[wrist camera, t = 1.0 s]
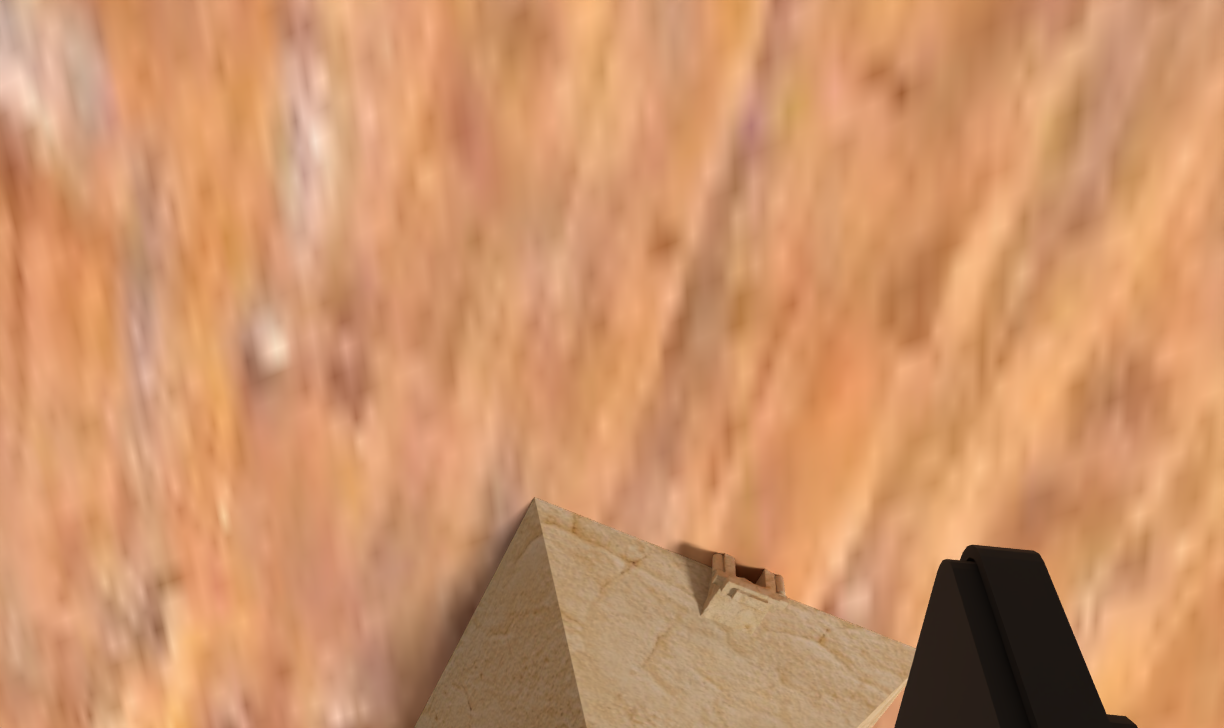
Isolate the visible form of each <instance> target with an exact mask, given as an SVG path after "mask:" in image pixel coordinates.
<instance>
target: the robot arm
mask: <svg viewBox="0 0 1224 728" xmlns="http://www.w3.org/2000/svg"><path fill="white" fill-rule="evenodd" d="M895 728H1138V727H1137V726H1136V724H1134V723H1133V722H1132V721H1131V720H1130V719H1128V718H1127V717H1126V716H1117V715H1107V714H1106V712H1105V709H1104V707H1103V705H1102V702H1101V700H1100V697H1099V695H1098V692H1097V690H1096V688H1095V685H1094V683H1093V680H1092V678H1091V675H1090V673H1089V670H1088V668H1087V666H1086V663H1085V661H1084V658H1083V656H1082V653H1081V651H1080V649H1079V646H1078V644H1077V641H1076V639H1075V636H1074V634H1073V631H1072V629H1071V627H1070V624H1069V622H1068V619H1067V617H1066V614H1065V612H1064V609H1063V607H1062V605H1061V602H1060V600H1059V597H1058V595H1057V592H1056V590H1055V588H1054V585H1053V583H1052V580H1051V578H1050V575H1049V573H1048V570H1047V568H1046V566H1045V563H1044V561H1043V559H1042V558H1041V556H1040V554H1039V553H1037V552H1035V551H1031V550H1021V549H1011V548H1000V547H990V546H980V545H970V546H967V548H966V549H965V550H964V552H963V554H962V556H961V559H960V560H950V559H945V560H943V561H942V563H941V564H940V566H939V569H938V572H937V575H936V578H935V582H934V586H933V589H932V593H931V597H930V600H929V604H928V608H927V611H926V615H925V619H924V622H923V626H922V629H921V633H920V637H919V640H918V644H917V648H916V651H915V655H914V659H913V662H912V666H911V669H910V673H909V677H908V680H907V684H906V688H905V691H904V695H903V699H902V702H901V706H900V710H899V713H898V717H897V720H896V724H895Z"/></svg>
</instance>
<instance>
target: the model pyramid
mask: <svg viewBox="0 0 1224 728" xmlns="http://www.w3.org/2000/svg"><path fill="white" fill-rule="evenodd" d="M915 651H916V648H913V647H911V646H908V645H906V644H903V643H901V642H898V641H896V640H893V639H890V638H888V637H885V636H883V635H880V634H878V633H875V632H873V631H870V630H868V629H865V628H863V627H860V626H858V625H855V624H853V623H850V622H848V621H845V620H843V619H840V618H838V617H835V616H833V615H830V614H828V613H825V612H823V611H820V610H817V609H815V608H812V607H810V606H807V605H805V604H802V603H800V602H797V601H795V600H792V599H790V598H787V596H786V595H785V588H784V580H783V577H782V576H780V575H776V576H775V574H774V573H772V572H770V571H768V570H766V569H764V571H763V573H762V574H761V576H760V577H759V579H758V580H757V582H756V583H755V584H753V583H752V582H750V581H748V580H747V579H745V578H740V577H737V576H736V570H735V558H733V557H732V556H730V555H728V554H724V555H723V556H722V554H719V553H716V554H714V555H713V557H712V567H709V566H707V565H704V564H702V563H699V562H697V561H694V560H692V559H689V558H687V557H684V556H682V555H679V554H676V553H674V552H671V551H669V550H666V549H664V548H661V547H659V546H656V545H654V544H651V543H649V542H646V541H644V540H641V539H639V538H636V537H634V536H631V535H629V534H626V533H624V532H621V531H619V530H616V529H614V528H611V527H608V526H606V525H603V524H601V523H598V522H596V521H593V520H591V519H588V518H586V517H583V516H581V515H578V514H576V513H573V512H571V511H568V510H566V509H563V508H561V507H558V506H556V505H553V504H551V503H548V502H546V501H543V500H541V499H538V498H535V497H534V499H533V501H532V503H531V505H530V507H529V509H528V510H527V512H526V514H525V516H524V518H523V520H522V522H521V524H520V526H519V528H518V530H517V532H516V533H515V535H514V537H513V539H512V541H511V543H510V545H509V547H508V549H507V551H506V553H505V555H504V556H503V558H502V560H501V562H500V564H499V566H498V568H497V570H496V572H495V574H494V576H493V578H492V579H491V581H490V583H489V585H488V587H487V589H486V591H485V593H484V595H483V597H482V599H481V601H480V602H479V604H478V606H477V608H476V610H475V612H474V614H473V616H472V618H471V620H470V622H469V624H468V625H467V627H466V629H465V631H464V633H463V635H462V637H461V639H460V641H459V643H458V645H457V647H456V648H455V650H454V652H453V654H452V656H451V658H450V660H449V662H448V664H447V666H446V668H445V670H444V671H443V673H442V675H441V677H440V679H439V681H438V683H437V685H436V687H435V689H434V691H433V693H432V694H431V696H430V698H429V700H428V702H427V704H426V706H425V708H424V710H423V712H422V714H421V716H420V717H419V719H418V721H417V723H416V725H415V727H414V728H872V727H873V726H874V724H875V723H876V722H877V721H878V719H879V718H880V717H881V716H882V714H883V713H884V712H885V711H886V710H887V708H888V707H889V706H890V705H891V703H892V702H893V701H894V700H895V698H896V697H897V696H898V695H899V694H900V692H901V691H902V690H903V689H904V687H905V686H906V684H907V680H908V677H909V673H910V669H911V666H912V662H913V659H914V655H915Z"/></svg>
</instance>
